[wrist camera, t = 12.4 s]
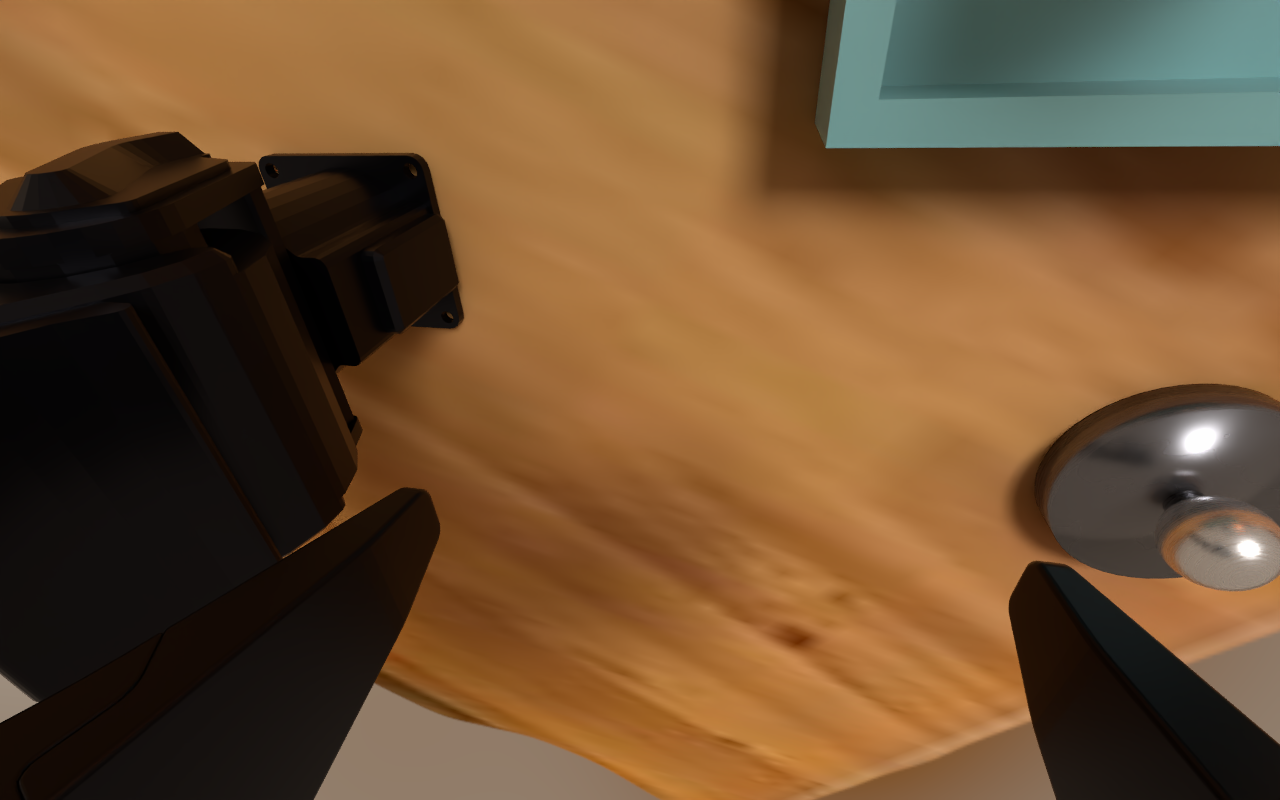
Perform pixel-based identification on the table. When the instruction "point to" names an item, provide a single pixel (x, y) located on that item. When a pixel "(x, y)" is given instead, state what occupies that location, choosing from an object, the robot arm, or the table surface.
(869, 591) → the table surface
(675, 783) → the table surface
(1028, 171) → the table surface
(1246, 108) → the bin
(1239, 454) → the stud plate
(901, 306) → the table surface
